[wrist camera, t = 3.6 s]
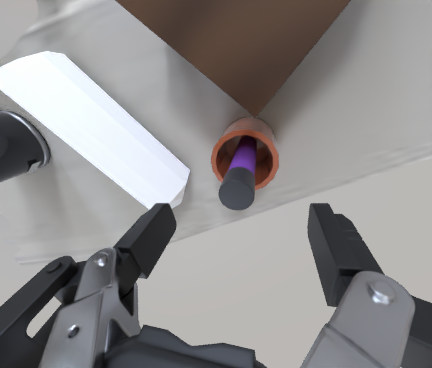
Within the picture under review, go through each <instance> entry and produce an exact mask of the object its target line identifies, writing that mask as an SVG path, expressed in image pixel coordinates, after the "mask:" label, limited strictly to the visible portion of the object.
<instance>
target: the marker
mask: <svg viewBox="0 0 432 368" xmlns="http://www.w3.org/2000/svg"><path fill="white" fill-rule="evenodd" d="M256 152H257V142H256V140H255V139H254V138H253V137H251V136H245V137H243V138H242V139H241V140H240V141H239V143H238V146H237V149H236V151H235V154H234V157H233V159H232V162H231V164H230V167H229V170H228V171H227V173H226V174H225V177H224V179H223V182H222V184H221V187H220V189H219V198H220V201H221V202H222V204H223V205H225V206H226V207H227V208H229V209H232V210H243V209H246V208H248V207H249V206H250V205H251V204H252V203H253V201H254V194H255V177H254V176H255V164H256Z"/></svg>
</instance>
